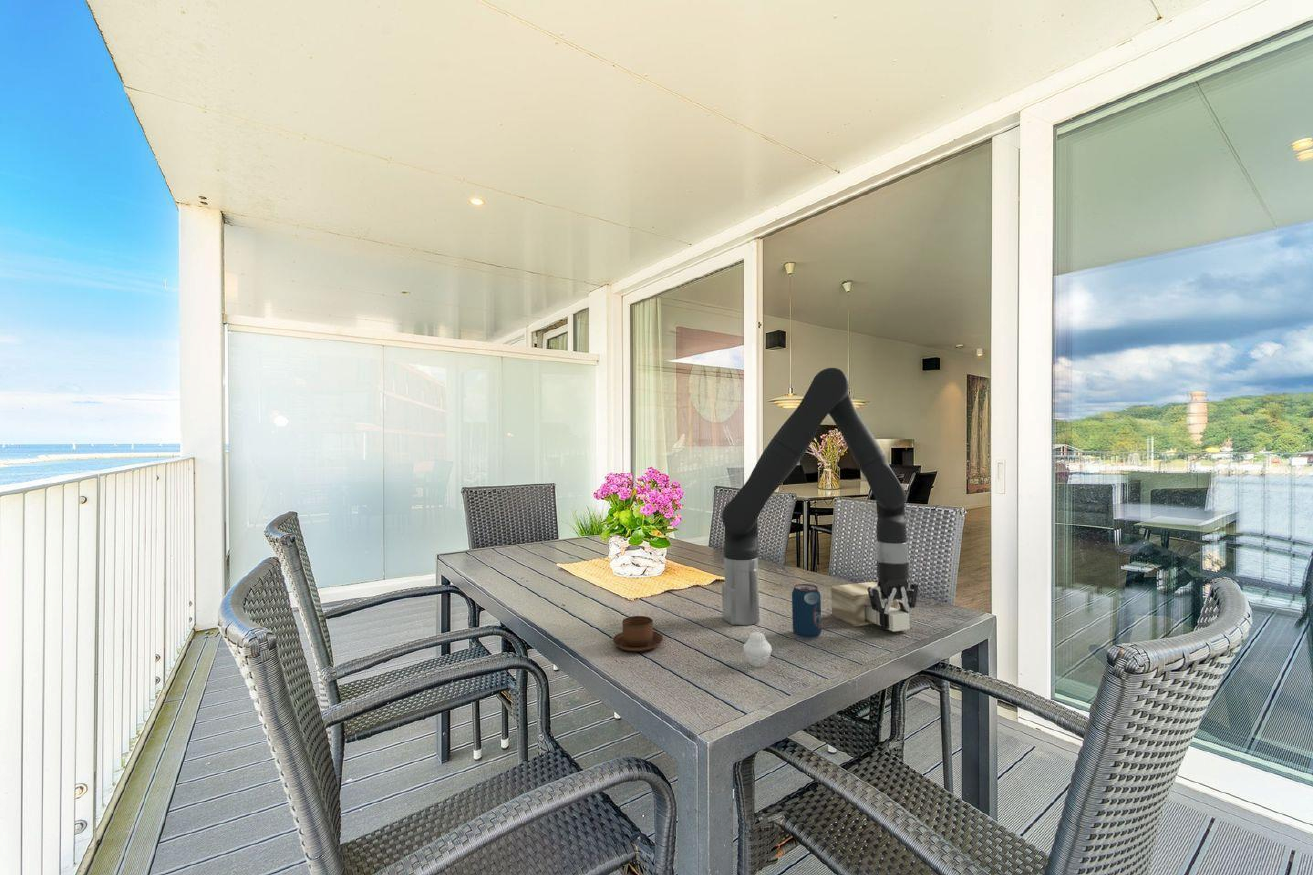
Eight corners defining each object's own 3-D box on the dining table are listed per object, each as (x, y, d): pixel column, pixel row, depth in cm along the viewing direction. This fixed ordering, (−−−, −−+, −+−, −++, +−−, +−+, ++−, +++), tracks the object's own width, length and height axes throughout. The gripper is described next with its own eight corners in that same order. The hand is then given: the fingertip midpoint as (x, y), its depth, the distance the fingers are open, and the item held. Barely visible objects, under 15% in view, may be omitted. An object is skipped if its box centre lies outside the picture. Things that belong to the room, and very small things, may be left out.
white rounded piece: (753, 672, 112) (753, 638, 112) (738, 661, 117) (737, 629, 117) (778, 666, 114) (777, 634, 114) (761, 656, 120) (760, 625, 120)
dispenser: (857, 627, 137) (856, 596, 138) (831, 615, 148) (831, 586, 148) (901, 621, 141) (900, 590, 142) (873, 609, 152) (873, 581, 152)
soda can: (823, 640, 129) (821, 590, 129) (793, 639, 130) (792, 589, 130) (820, 630, 136) (818, 583, 136) (792, 629, 137) (790, 582, 137)
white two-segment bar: (893, 631, 131) (892, 615, 131) (855, 614, 145) (854, 600, 145) (909, 629, 133) (909, 613, 133) (870, 612, 147) (870, 598, 147)
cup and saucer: (606, 642, 131) (606, 617, 131) (651, 634, 136) (650, 610, 136) (623, 659, 120) (622, 632, 120) (670, 650, 125) (670, 624, 125)
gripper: (904, 554, 140) (906, 618, 140) (858, 558, 136) (860, 625, 136) (926, 559, 133) (928, 627, 133) (878, 564, 129) (880, 634, 129)
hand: (894, 626), depth 134 cm, fingers closed on white two-segment bar, 5 cm apart
